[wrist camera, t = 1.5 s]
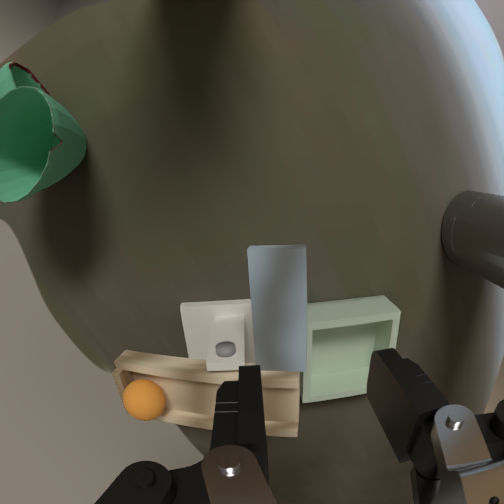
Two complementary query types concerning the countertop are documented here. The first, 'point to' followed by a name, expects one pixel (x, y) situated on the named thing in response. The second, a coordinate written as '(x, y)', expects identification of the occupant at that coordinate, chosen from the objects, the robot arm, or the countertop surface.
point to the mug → (33, 136)
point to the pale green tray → (345, 345)
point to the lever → (265, 344)
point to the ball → (144, 399)
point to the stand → (219, 333)
